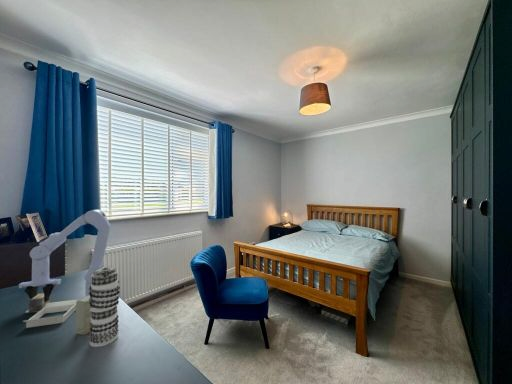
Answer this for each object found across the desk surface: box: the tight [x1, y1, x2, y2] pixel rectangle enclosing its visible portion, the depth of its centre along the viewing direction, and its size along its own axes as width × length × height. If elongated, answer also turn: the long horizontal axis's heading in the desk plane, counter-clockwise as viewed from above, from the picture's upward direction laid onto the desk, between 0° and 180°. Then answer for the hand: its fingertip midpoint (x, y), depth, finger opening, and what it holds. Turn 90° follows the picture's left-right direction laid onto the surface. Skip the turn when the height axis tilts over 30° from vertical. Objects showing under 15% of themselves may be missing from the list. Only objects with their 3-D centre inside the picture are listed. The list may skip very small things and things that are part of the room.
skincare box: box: [75, 295, 92, 336], centre depth 83 cm, size 6×4×12 cm
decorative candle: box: [88, 266, 120, 348], centre depth 78 cm, size 9×9×25 cm
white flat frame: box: [22, 298, 80, 329], centre depth 91 cm, size 12×14×4 cm
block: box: [28, 292, 51, 313], centre depth 98 cm, size 4×7×5 cm, turn 17°
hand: (40, 301), depth 99 cm, fingers closed on block, 4 cm apart
